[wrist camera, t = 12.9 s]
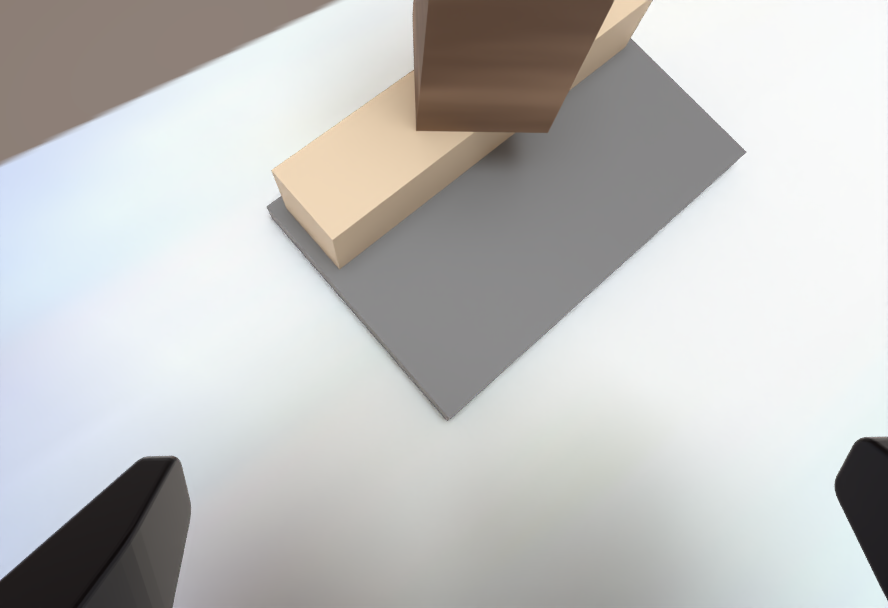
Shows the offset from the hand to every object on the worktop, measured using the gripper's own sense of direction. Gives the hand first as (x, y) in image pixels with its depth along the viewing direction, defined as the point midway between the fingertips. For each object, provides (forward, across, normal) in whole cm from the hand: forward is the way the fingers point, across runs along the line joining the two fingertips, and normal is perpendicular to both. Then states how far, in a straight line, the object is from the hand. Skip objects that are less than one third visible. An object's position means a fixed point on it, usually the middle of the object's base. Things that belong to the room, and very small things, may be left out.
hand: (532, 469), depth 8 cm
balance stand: (+17, -3, +2) cm, 17 cm away
